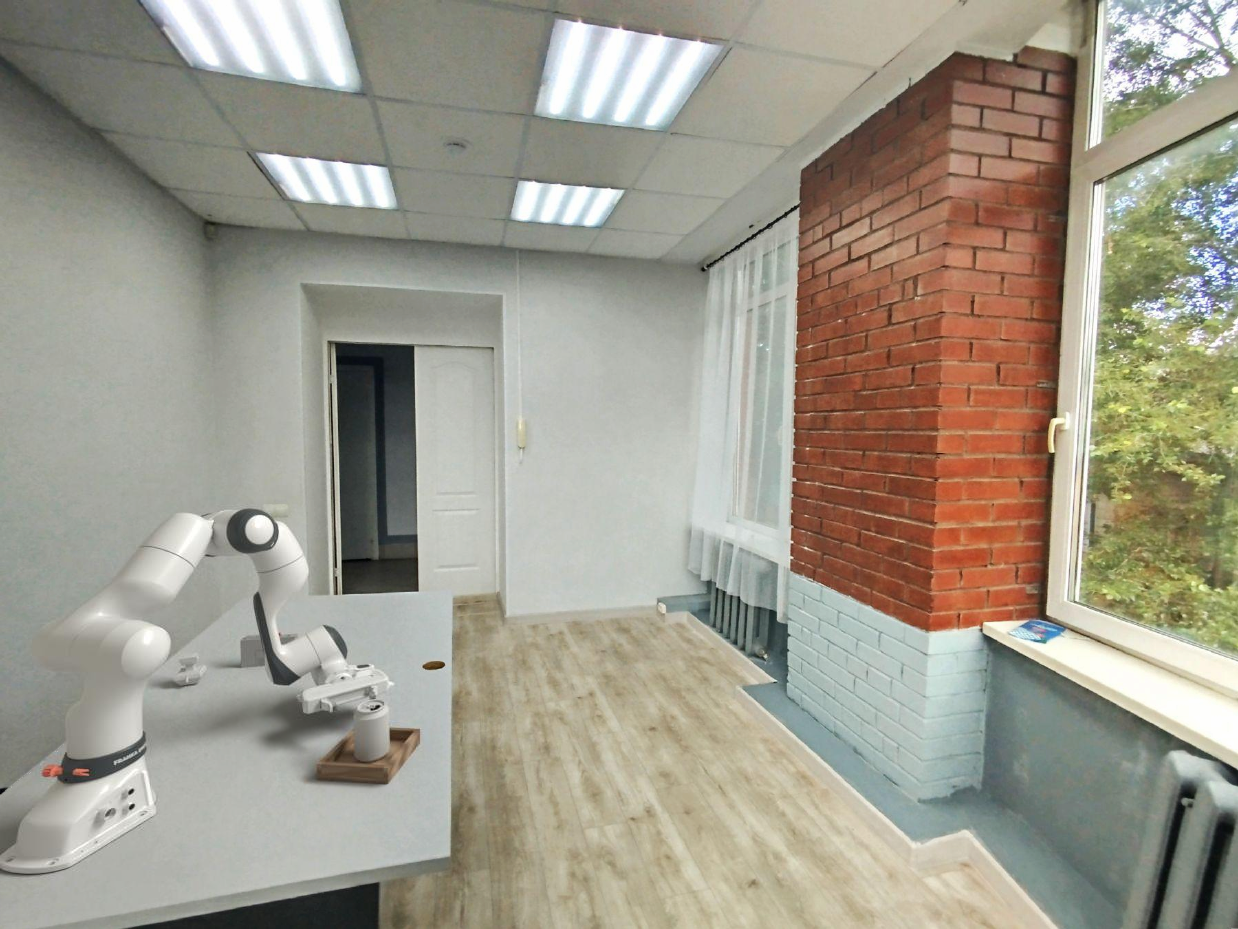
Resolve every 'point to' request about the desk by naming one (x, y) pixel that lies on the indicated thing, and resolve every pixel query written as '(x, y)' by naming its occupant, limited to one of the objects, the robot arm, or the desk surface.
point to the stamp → (189, 670)
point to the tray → (348, 768)
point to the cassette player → (258, 649)
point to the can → (371, 730)
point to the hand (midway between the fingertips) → (354, 703)
